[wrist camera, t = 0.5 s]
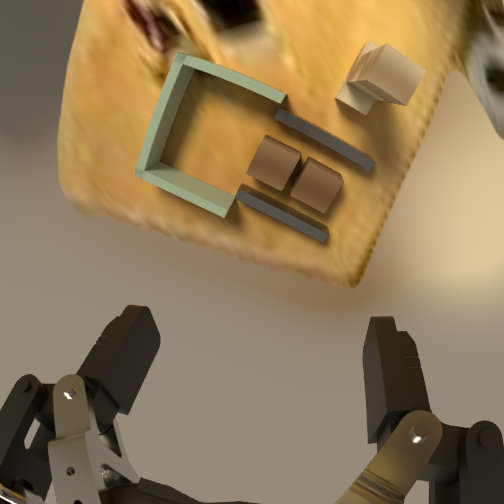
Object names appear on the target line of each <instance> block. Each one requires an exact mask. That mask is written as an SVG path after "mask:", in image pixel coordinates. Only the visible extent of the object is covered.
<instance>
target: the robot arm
mask: <svg viewBox="0 0 504 504" xmlns="http://www.w3.org/2000/svg"><path fill="white" fill-rule="evenodd" d="M159 347H160V334H159V331H158V329H157V326H156V324H155V321H154V319H153V316H152V314H151V311H150V309H149V308H148V307H147V306H137V305H128V306H127V307H126V308H125V310H124V311H123V313H122V314H121V316H120V317H118V316H117V317H116V318H115V319H114V320H112V321H111V322H110V323H109V324H108V325H107V326H106V328H105V329H104V331H103V332H102V334H101V337H99V338H98V340H97V341H96V345H94V346H93V348H92V349H91V351H90V352H89V354H88V356H87V357H86V359H85V361H84V362H83V364H82V365H81V367H80V369H79V370H78V372H77V373H76V374H70V375H66V376H64V377H62V378H61V379H60V380H59V381H58V382H57V383H56V384H42V383H41V382H40V381H39V380H38V379H37V377H35V376H34V375H32V374H28V375H25V376H23V377H21V378H20V379H19V380H18V381H17V382H16V384H15V385H14V387H13V389H12V391H11V393H10V394H9V396H8V398H7V399H6V401H5V403H4V405H3V407H2V408H1V410H0V504H44V501H45V499H46V496H47V492H48V490H49V487H50V485H51V482H52V480H53V486H54V491H55V496H56V501H57V504H257V503H249V502H242V501H237V502H219V503H218V502H216V503H203V502H199V501H197V500H195V499H193V498H191V497H189V496H187V495H185V494H183V493H181V492H179V491H178V490H176V489H174V488H172V487H170V486H167V485H163V484H160V483H156V482H153V481H150V480H147V479H144V478H140V480H139V478H138V476H137V474H136V472H135V470H134V469H133V467H132V466H131V464H130V463H129V461H128V458H127V455H126V452H125V449H124V446H123V442H122V439H121V435H120V431H119V428H118V423H117V421H116V419H115V416H116V414H117V412H119V413H123V414H125V415H128V414H129V412H130V410H131V407H132V405H133V403H134V401H135V398H136V396H137V394H138V392H139V390H140V388H141V385H142V383H143V381H144V379H145V377H146V375H147V372H148V370H149V368H150V366H151V364H152V362H153V360H154V358H155V356H156V354H157V352H158V350H159ZM363 370H364V380H365V381H364V382H365V395H366V409H367V410H366V411H367V431H368V444H371V443H377V454H376V455H375V457H374V458H373V459H372V461H371V462H370V463H369V464H368V466H367V467H366V468H365V469H364V471H363V472H362V473H361V474H360V475H359V477H358V478H357V479H356V480H355V481H354V482H353V483H352V485H351V486H350V487H349V488H348V489H347V491H346V492H344V494H343V495H342V496H341V497H340V498H339V499H338V500H337V501H336V502H335V503H334V504H404V499H405V497H406V495H407V493H408V492H409V491H410V489H411V488H412V486H413V485H414V483H415V482H416V480H422V481H429V504H504V444H503V439H502V434H501V431H500V429H499V428H498V427H497V426H496V424H494V423H493V422H490V421H479V422H477V423H475V424H474V425H473V426H472V427H471V428H464V427H457V426H451V425H446V424H444V423H442V422H441V421H440V420H439V419H438V418H437V417H436V416H435V415H434V414H432V411H431V409H430V406H429V401H428V395H427V390H426V386H425V381H424V377H423V372H422V369H421V364H420V360H419V358H418V352H417V348H416V344H415V342H414V340H413V339H412V338H411V336H410V335H409V334H408V333H407V331H399V332H397V329H396V325H395V321H394V318H393V317H392V316H387V317H371V318H370V322H369V326H368V330H367V335H366V339H365V343H364V347H363ZM34 418H35V419H36V420H37V421H38V422H40V423H41V424H40V426H39V428H38V430H37V432H36V434H35V437H34V439H33V441H32V443H31V445H30V447H29V449H26V448H25V445H24V439H25V437H26V435H27V433H28V431H29V428H30V427H31V424H32V422H33V420H34Z"/></svg>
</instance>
